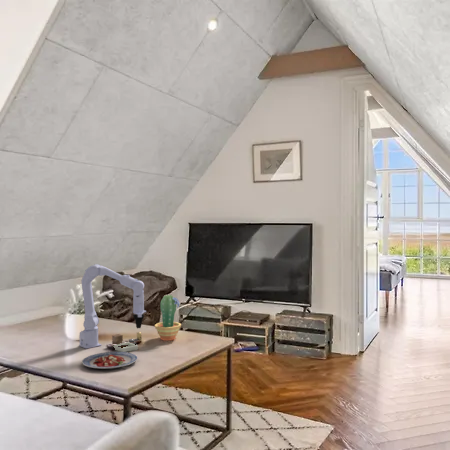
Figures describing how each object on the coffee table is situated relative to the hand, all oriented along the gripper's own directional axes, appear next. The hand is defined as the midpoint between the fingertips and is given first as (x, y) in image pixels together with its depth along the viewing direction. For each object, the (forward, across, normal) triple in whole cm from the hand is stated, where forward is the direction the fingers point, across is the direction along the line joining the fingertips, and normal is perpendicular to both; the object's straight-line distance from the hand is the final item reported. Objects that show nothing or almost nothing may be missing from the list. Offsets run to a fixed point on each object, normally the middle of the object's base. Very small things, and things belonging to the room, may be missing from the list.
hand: (138, 328), depth 259 cm
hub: (+9, +3, +4) cm, 10 cm away
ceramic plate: (+10, -29, +16) cm, 35 cm away
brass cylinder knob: (+8, +4, +2) cm, 9 cm away
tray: (+9, -7, +7) cm, 14 cm away
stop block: (+10, +1, +11) cm, 15 cm away
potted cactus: (+10, +10, -18) cm, 22 cm away
